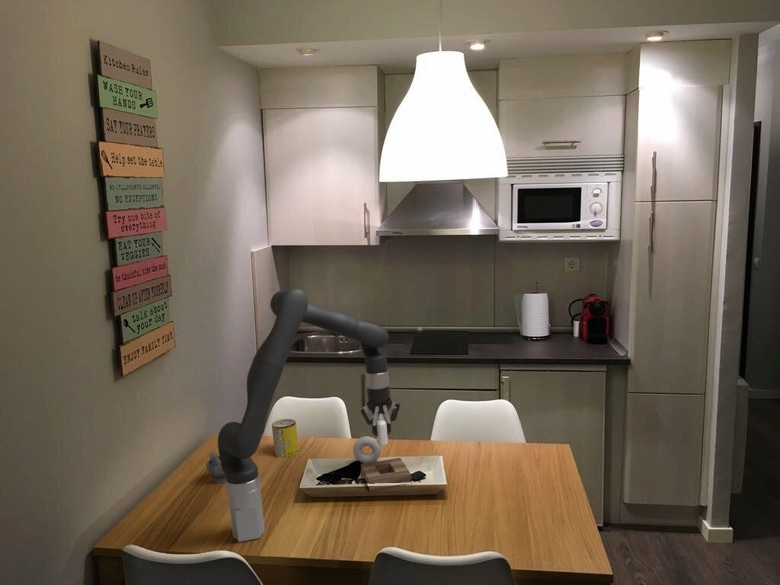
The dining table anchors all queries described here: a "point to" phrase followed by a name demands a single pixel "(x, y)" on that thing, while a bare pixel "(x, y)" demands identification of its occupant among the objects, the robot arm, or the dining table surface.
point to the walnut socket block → (386, 471)
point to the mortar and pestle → (215, 468)
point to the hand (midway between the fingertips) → (381, 434)
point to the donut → (362, 443)
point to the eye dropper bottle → (381, 431)
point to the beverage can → (285, 438)
